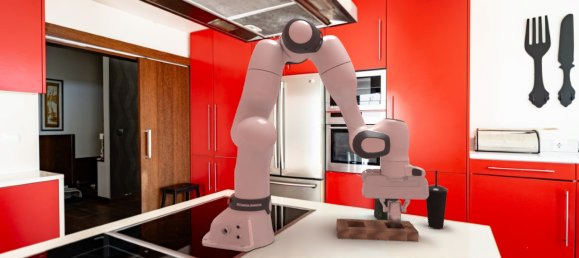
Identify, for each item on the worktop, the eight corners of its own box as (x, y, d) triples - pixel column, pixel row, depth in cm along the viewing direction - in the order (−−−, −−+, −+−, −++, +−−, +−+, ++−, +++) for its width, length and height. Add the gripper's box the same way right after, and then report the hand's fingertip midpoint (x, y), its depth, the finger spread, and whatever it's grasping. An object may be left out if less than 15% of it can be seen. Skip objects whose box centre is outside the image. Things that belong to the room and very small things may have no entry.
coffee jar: (402, 224, 110) (402, 173, 109) (381, 225, 109) (381, 174, 108) (390, 216, 120) (390, 169, 119) (371, 217, 119) (371, 169, 118)
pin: (389, 231, 96) (389, 202, 96) (386, 226, 100) (386, 199, 100) (402, 231, 95) (402, 203, 95) (399, 227, 99) (399, 199, 99)
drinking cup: (421, 222, 112) (422, 168, 112) (444, 223, 111) (444, 169, 110) (426, 229, 105) (427, 172, 104) (450, 231, 103) (451, 172, 102)
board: (338, 241, 94) (338, 228, 94) (336, 230, 104) (336, 217, 104) (418, 244, 92) (418, 230, 92) (409, 232, 102) (409, 220, 102)
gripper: (362, 170, 95) (362, 214, 95) (430, 171, 93) (430, 215, 93) (360, 167, 101) (360, 208, 102) (424, 167, 99) (423, 209, 99)
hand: (394, 212), depth 97 cm, fingers closed on pin, 4 cm apart
